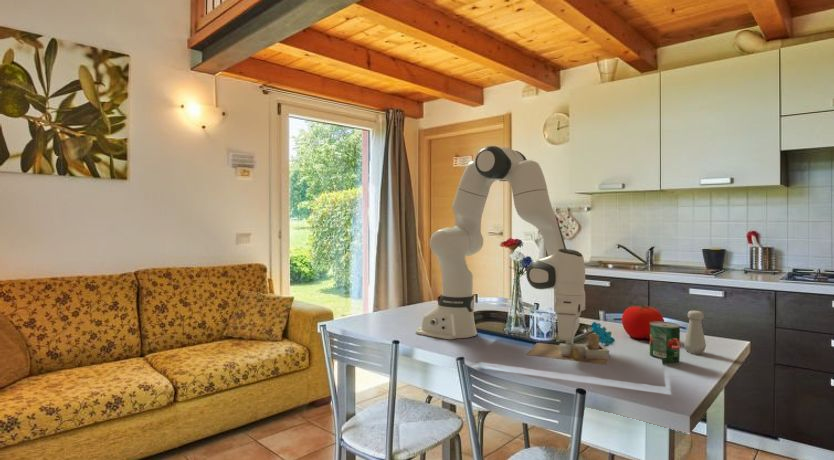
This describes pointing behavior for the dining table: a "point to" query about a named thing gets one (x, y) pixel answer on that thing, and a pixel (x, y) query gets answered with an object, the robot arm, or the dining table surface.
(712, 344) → the dining table surface
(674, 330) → the canned tomato
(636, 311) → the tomato
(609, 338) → the gear
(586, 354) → the tan pipe fitting
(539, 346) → the post board
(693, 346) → the salt shaker
